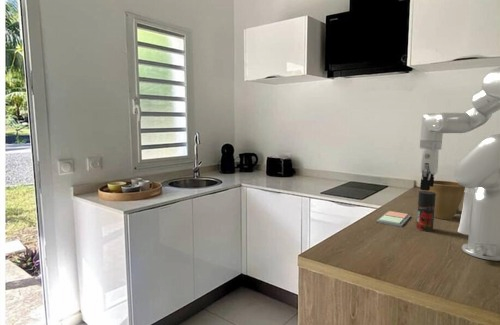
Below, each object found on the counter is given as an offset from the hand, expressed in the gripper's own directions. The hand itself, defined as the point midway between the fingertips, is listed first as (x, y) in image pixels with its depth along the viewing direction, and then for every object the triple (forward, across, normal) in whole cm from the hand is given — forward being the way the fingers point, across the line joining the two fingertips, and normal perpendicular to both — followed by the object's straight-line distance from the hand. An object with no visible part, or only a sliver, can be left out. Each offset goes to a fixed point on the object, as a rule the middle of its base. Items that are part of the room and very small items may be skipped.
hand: (426, 188), depth 130 cm
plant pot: (+17, +24, -4) cm, 29 cm away
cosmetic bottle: (+17, +5, -14) cm, 23 cm away
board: (+17, +6, +12) cm, 22 cm away
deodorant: (+17, 0, 0) cm, 17 cm away
